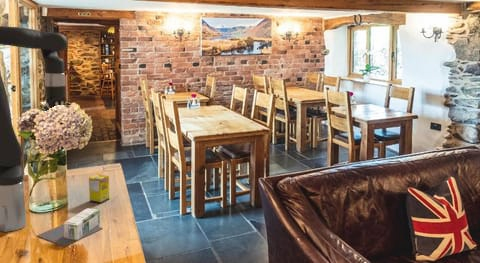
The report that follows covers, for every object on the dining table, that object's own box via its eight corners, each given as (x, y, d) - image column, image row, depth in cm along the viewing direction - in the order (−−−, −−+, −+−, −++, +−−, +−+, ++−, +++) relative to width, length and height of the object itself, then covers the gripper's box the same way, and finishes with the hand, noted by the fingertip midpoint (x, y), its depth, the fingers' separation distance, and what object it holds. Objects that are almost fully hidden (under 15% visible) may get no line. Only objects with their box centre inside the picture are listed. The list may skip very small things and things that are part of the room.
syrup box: (100, 223, 160) (78, 240, 146) (86, 221, 161) (63, 238, 148) (100, 209, 159) (77, 225, 145) (86, 207, 160) (62, 222, 146)
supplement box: (109, 199, 185) (109, 175, 183) (100, 204, 180) (100, 179, 177) (98, 197, 187) (97, 173, 185) (89, 201, 182) (88, 177, 179)
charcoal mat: (64, 246, 142) (64, 246, 142) (37, 236, 149) (37, 235, 149) (102, 228, 157) (102, 228, 157) (76, 219, 163) (76, 219, 163)
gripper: (63, 82, 175) (64, 123, 178) (34, 84, 163) (36, 128, 167) (75, 84, 171) (77, 126, 175) (47, 86, 160) (49, 131, 163)
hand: (57, 127), depth 171 cm, fingers closed
